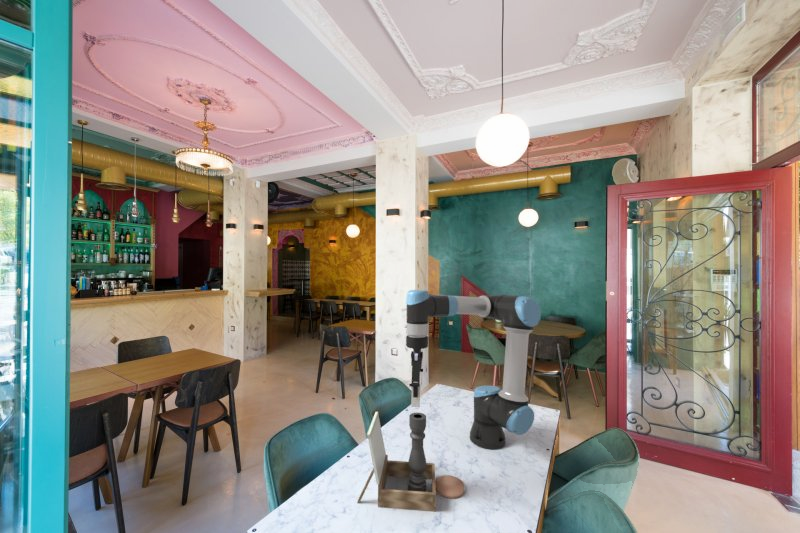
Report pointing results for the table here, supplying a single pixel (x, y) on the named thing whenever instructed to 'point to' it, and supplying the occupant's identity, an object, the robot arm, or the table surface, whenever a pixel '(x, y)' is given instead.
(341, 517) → the table surface
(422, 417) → the candle holder
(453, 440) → the table surface
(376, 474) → the frame lid
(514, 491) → the table surface
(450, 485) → the saucer
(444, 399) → the table surface
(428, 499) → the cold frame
